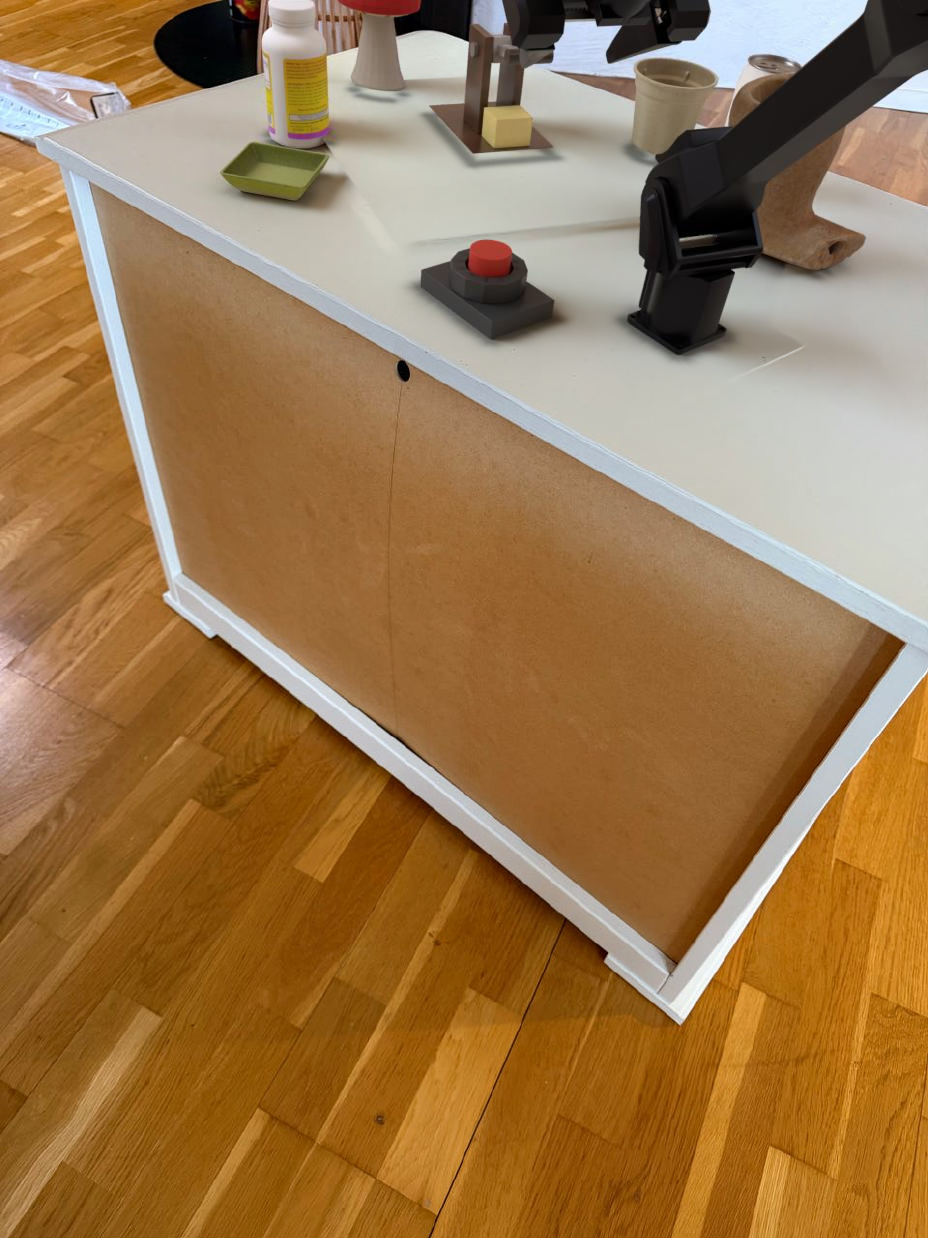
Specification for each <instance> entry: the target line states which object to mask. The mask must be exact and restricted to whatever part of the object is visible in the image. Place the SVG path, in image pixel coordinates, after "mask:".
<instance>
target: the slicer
mask: <svg viewBox="0 0 928 1238" xmlns="http://www.w3.org/2000/svg"><path fill="white" fill-rule="evenodd" d="M492 35H493V34H491V33H490V32H489V31H488V30H487V29H485V28H484V27H483V25H481V24H480V23H470V25H469V35H468V36H469V37H468V47H467V48H468V49H467V62H466V63H467V64H466V65H467V66H466V74H465V75H466V76H465V89H464V102H463V103H446V104H431V105H430V104H429V105H428V107H429V108H430V109H431V110H432V112H433V113H435V114H436V115H437V116H438V117H439V119H440V120H441V121H442V122H443V124H445V126H446V127H448V128H449V130H450V131H451V132H452V133H453V134H454V135H455V136H456V137H457V139H458V140H460V142H461V143H462V144H463V145H464V146H465V147H466V148H467V149H468V150H469V152H471V153H472V154H473V155H474V154H489V153H499V152H511V151H512V152H513V151H514V152H515V151H525V150H540V149H550V148H551V149H552V148H555V146H554V145H553V144H552V143H551V142H550V141H549V140H547V138H545V137H544V136H543V135H542V134H541V133H540V132H539V131H538V129H536V128H535V127H534V126H532V130H531V138H530V145H529V146H521V147H508V148H495V149H494V148H493V147H492V146H491V145H490V144H489V143H488V142H487V141H486V140H485V139H484V138H483V137H482V127H483V116H484V108H485V107H500V106H516V105H520V106H521V103H522V92H523V85H524V76H525V69H522V67H521V65H506V64H505V63H499V70H498V77H497V79H498V80H497V89H496V97H495V98H496V100H495V101H489V98H490V97H489V95H490V86H491V77H492V76H491V74H492V64H493V63H492V54H493V44H494V37H493V36H492ZM502 35H507V36H510V33H509V28H508V24H507V22H503V28H502ZM512 46H515V45H514V44H513V43H512Z"/></svg>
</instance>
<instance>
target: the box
mask: <svg viewBox="0 0 928 1238" xmlns="http://www.w3.org/2000/svg"><path fill="white" fill-rule="evenodd" d="M469 252H470V247H467V248H465V249H461V250H459V251H457V252H456V254H455V255H454V256H453V257H452V258H451V259H450V260H449V261H446V262H441V263H439V264H436V265H432V266H429V267H426V268H422V269H421V271H420V288H421V289H422V290H424V291H425V292H426V293H428V294H429V295H431V296H432V297H433V298H434V299H436V300H437V301H439V302H440V304H443V305H444V306H445V307H446V308H447V309H449V310H451V311H452V313H454V314H456V315H457V316H458V317H460V318H461V319H462V320H464V321H465V322H466V323H468V325H471V326H472V327H473V328H474V329H476V330H477V331H479V332H480V333H481V334H482V335H484V336H485V337H486V338H487V339H489V340H493V339H496V338H498V337H499V338H500V337H501V336H504V335H507V334H510V333H512V332H515V331H518V330H521V329H524V328H527V327H530V326H532V325H535V324H537V323H540V322H543V321H546V320H549V319H551V318H552V317H553V312H554V306H555V301H556V300H555V299H554V298H552V297H550V296H549V295H548V294H546V293H545V292H543V291H542V290H540V289H539V288H537V287H536V286H535V285H533V284H531V283H530V282H529V281H528V280H527V279H528V274H529V270H528V269H529V268H528V267H527V264H526V262H525V260H524V259H523V258H522V257H520V256H518V255H516V254H515V253H514V252H512V257H511V265H510V272H509V274H508V275H505V276H502V277H499V278H498V277H484V276H480V275H477V274H474V273H472V272H471V271H470V270H469V269H468V264H469Z"/></svg>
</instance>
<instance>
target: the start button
mask: <svg viewBox="0 0 928 1238" xmlns="http://www.w3.org/2000/svg"><path fill="white" fill-rule="evenodd" d="M469 248H470V252H469V264H468V269H469V270H470V271H471V272H472V273H474V274H477V275H480V276H484V277H498V278H499V277H502V276H505V275H508V274H509V272H510V265H511V257H512V253H513V249H512V247H511V246H510V245H508V244H507V243H505V242H503V241H500V240H495V239H480V240H476V241H474V242H472V243H471V245H470V246H469Z"/></svg>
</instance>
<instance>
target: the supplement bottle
mask: <svg viewBox="0 0 928 1238" xmlns="http://www.w3.org/2000/svg"><path fill="white" fill-rule="evenodd" d="M267 4H268V5H267V7H268V17H269V19H270V21H271V26H270V27H269V28H267V29H266V30H265V31H264V32H263V35H262V36H261V37H262V38H261V52H262V63H263V65H262V66H263V76H264V88H265V99H266V101H265V102H266V111H267V112H266V114H267V124H268V133H269V137H270V138H271V139H272V140H273V141H274V142H275V143H277V144H278V145H280V146H283V147H288V148H294V149H312V148H316V147H319V146H322V145H323V144H325V143H326V141H325V140H324V139H323V137H324V136H326V135H328V133H329V132H330V110H329V109H330V108H329V83H328V82H329V81H328V54H327V53H328V50H327V42H326V39H325V37H324V36H323V35H322V33H321V32H320V31H319V30H317V29H316V28H315V22H316V19H317V13H316V10H317V9H316V3H315V2H314V1H313V0H268V2H267Z"/></svg>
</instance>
